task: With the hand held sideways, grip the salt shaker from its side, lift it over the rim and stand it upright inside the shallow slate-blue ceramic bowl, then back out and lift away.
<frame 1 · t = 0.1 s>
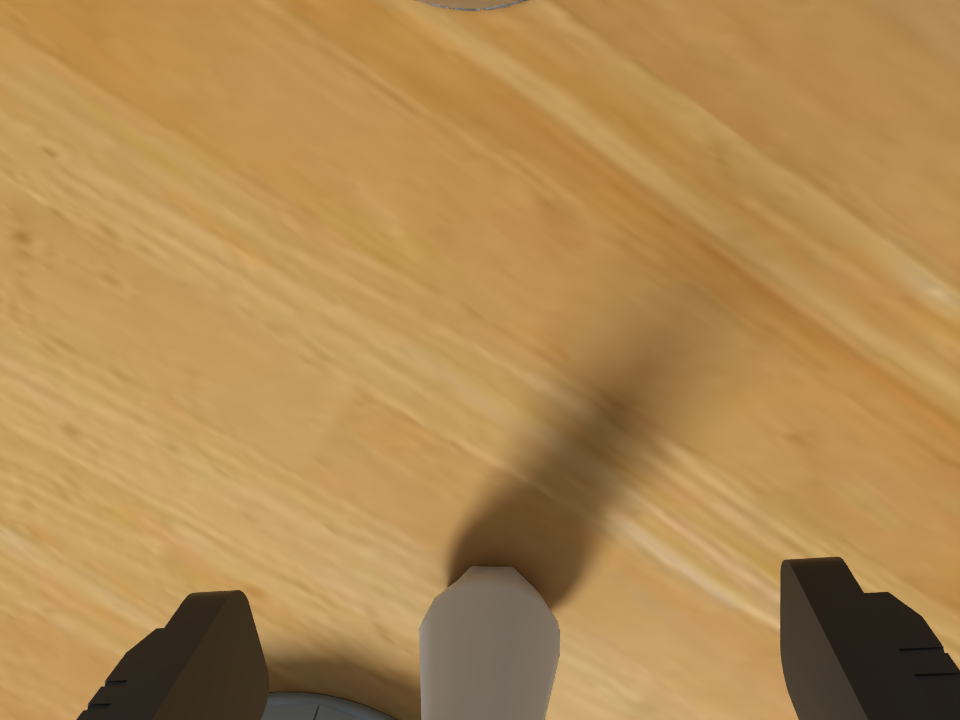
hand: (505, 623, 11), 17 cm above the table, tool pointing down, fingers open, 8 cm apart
salt shaker: (493, 597, 33), on the table
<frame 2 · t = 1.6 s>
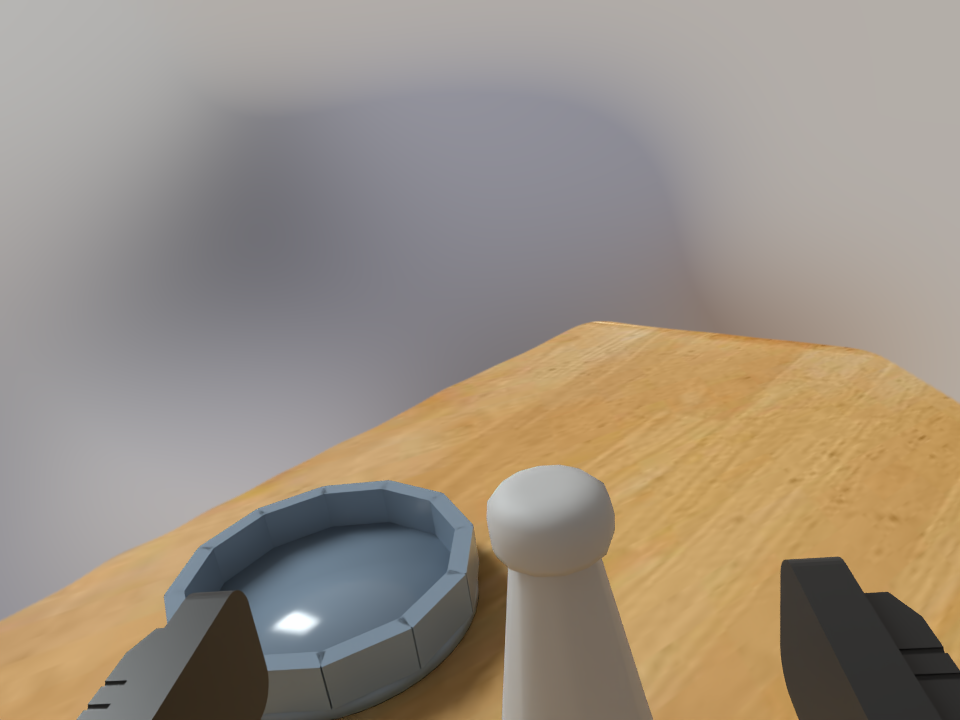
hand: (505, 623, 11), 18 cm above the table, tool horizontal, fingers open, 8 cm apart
bowl: (335, 608, 41), on the table
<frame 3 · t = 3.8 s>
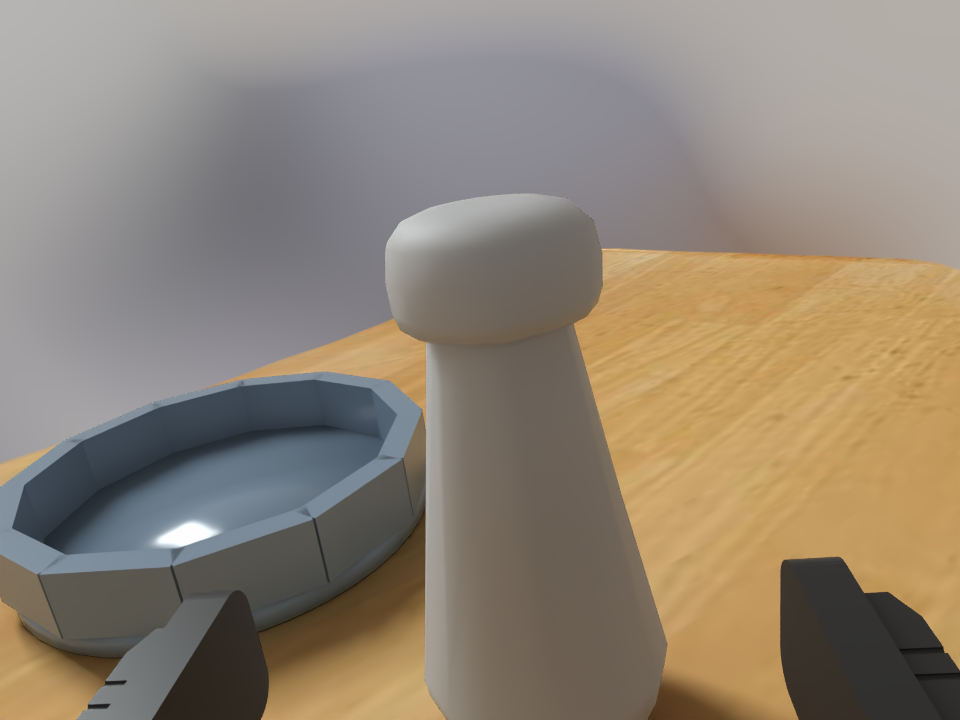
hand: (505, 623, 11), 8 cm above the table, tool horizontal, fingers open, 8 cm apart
bowl: (235, 518, 31), on the table
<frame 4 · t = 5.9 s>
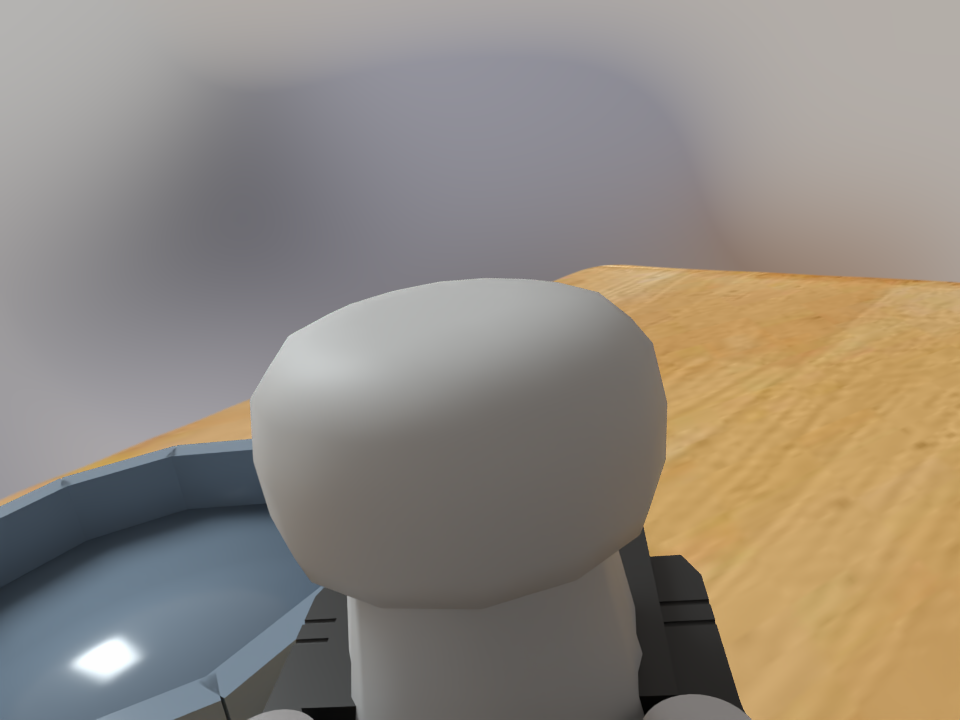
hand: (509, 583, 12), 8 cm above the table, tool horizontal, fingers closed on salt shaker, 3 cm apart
bowl: (149, 643, 24), on the table
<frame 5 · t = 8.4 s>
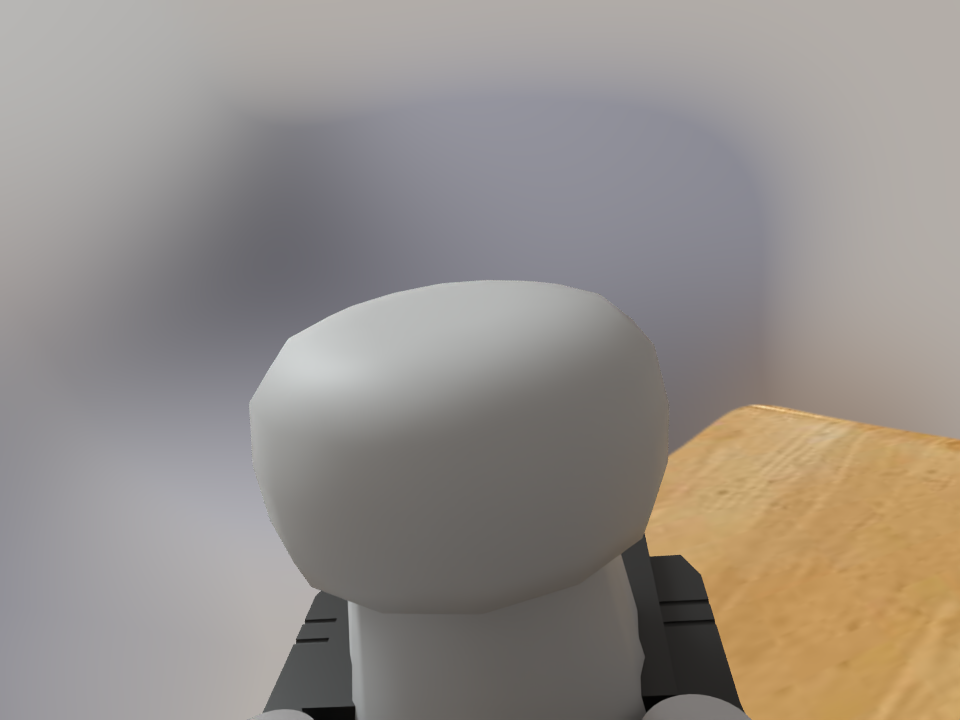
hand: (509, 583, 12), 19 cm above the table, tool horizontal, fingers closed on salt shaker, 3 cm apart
when the fingers open (9 cm above the table, at t = 10.9 s): salt shaker stays where it is, resting on bowl.
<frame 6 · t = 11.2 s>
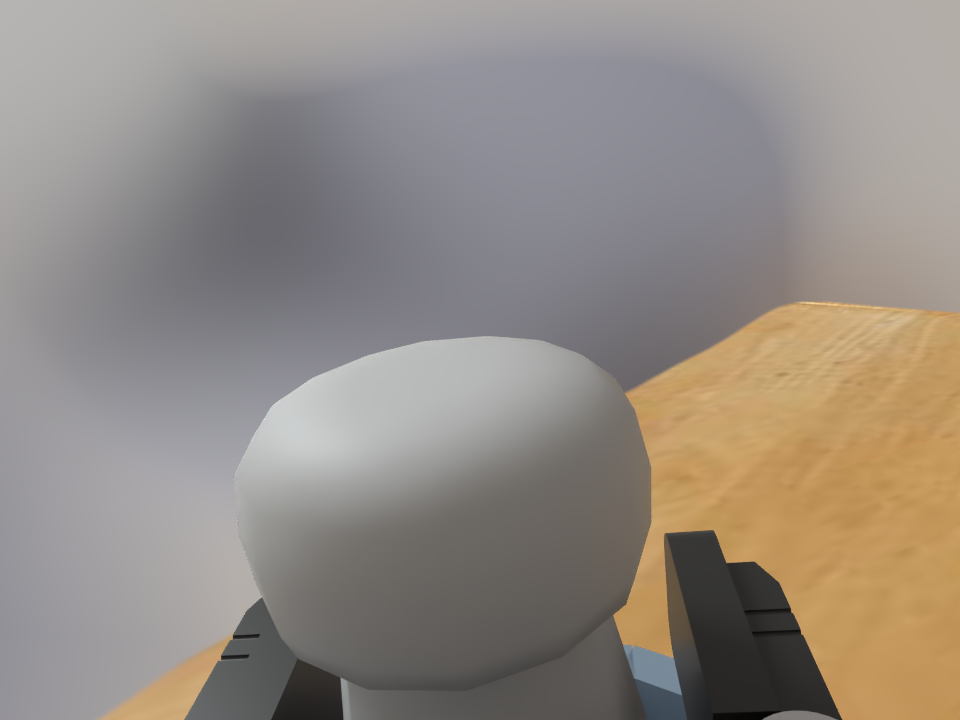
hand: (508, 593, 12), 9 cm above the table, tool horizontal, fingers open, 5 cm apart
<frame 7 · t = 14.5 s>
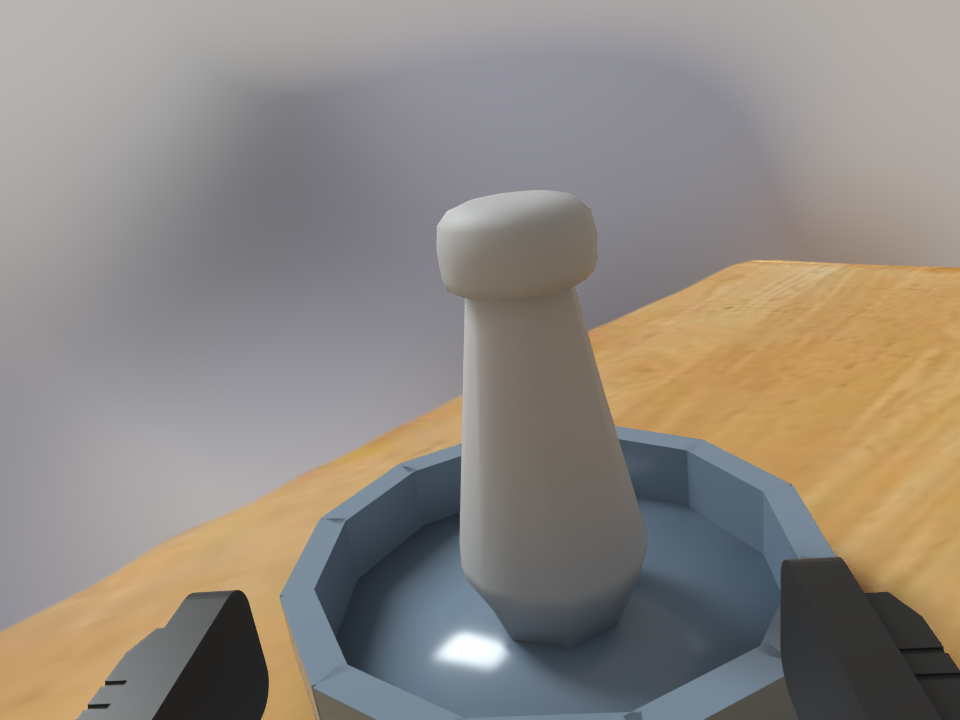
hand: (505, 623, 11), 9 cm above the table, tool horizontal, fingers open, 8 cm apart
salt shaker: (559, 609, 24), point 1 cm above the table, touching bowl
bowl: (557, 622, 25), on the table
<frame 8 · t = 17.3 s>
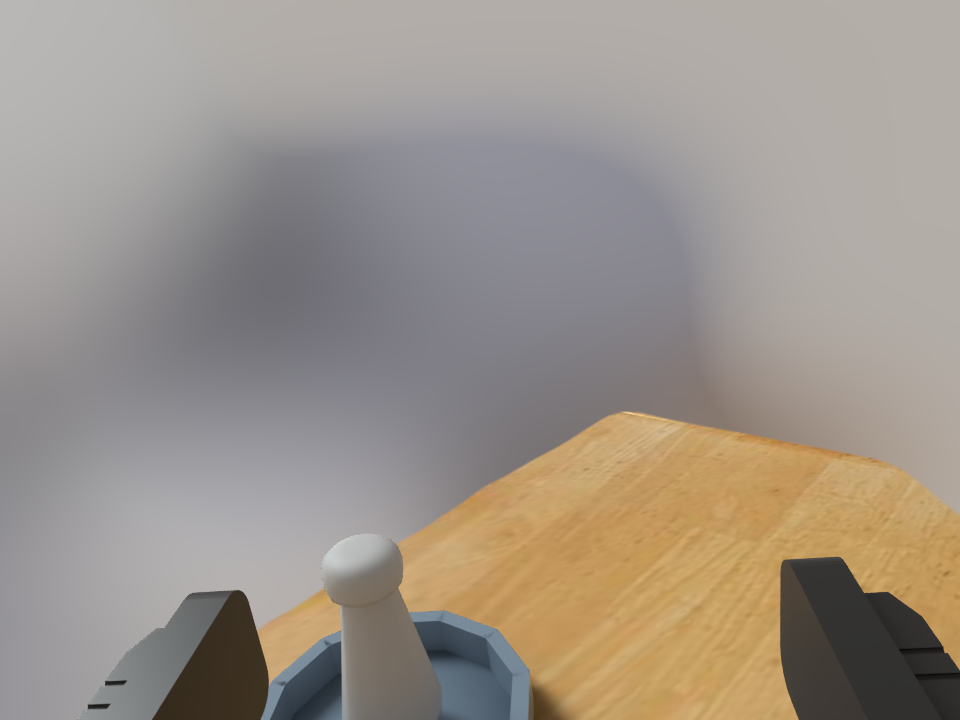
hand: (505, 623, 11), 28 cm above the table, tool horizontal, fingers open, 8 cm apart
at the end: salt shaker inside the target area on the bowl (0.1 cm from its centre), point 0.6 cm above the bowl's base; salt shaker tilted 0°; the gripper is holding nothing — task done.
